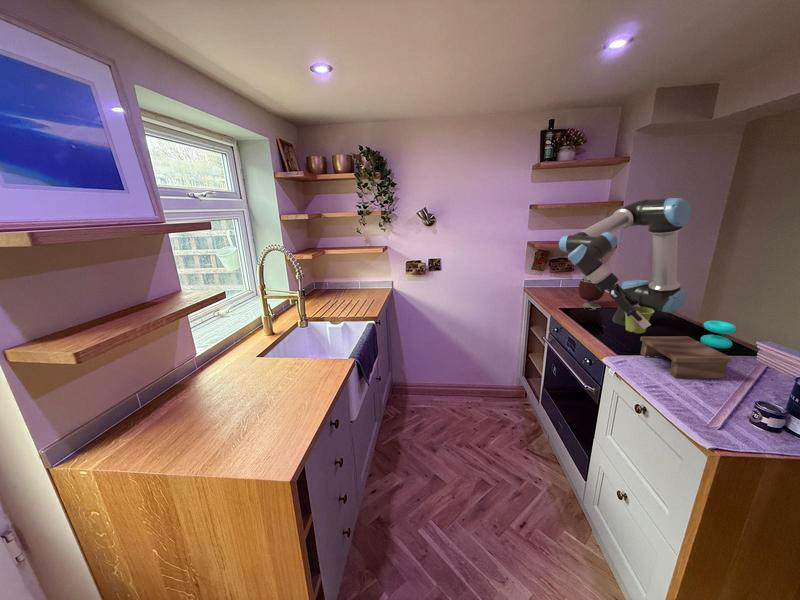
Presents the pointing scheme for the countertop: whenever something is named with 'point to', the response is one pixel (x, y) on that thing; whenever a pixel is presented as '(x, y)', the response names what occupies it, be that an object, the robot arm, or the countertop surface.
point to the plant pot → (632, 324)
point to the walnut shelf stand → (687, 356)
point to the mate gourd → (589, 292)
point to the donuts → (715, 339)
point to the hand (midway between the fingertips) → (647, 322)
